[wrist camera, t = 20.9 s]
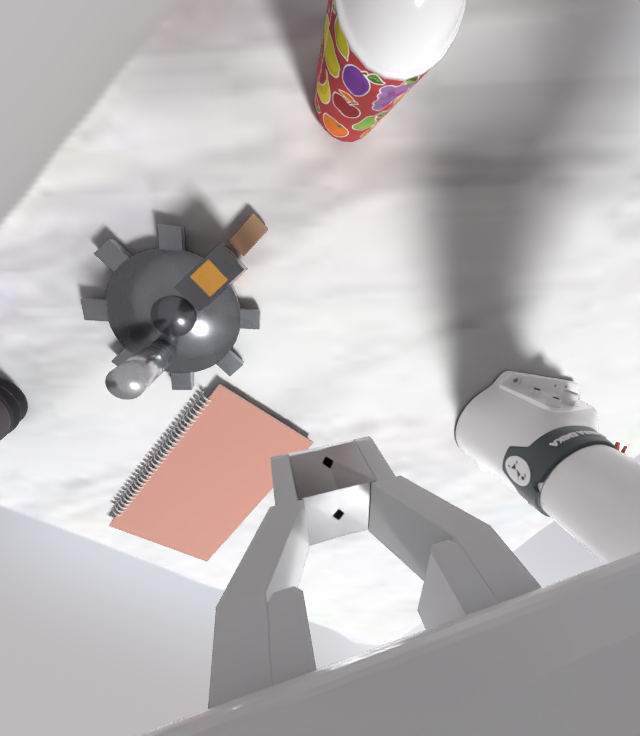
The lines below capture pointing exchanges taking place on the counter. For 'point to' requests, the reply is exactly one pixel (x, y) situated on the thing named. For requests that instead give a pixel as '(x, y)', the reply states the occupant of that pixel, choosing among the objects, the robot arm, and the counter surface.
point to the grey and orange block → (211, 277)
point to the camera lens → (10, 407)
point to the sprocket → (164, 317)
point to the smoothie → (377, 57)
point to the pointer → (248, 234)
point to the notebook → (207, 475)
